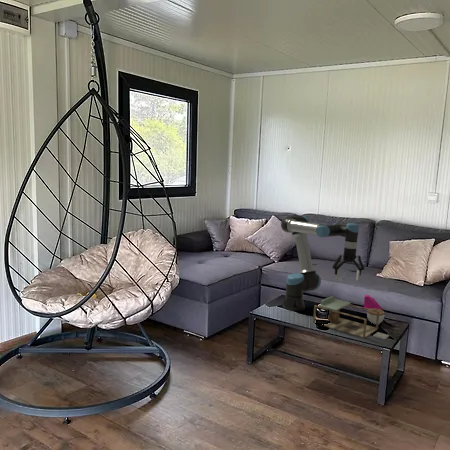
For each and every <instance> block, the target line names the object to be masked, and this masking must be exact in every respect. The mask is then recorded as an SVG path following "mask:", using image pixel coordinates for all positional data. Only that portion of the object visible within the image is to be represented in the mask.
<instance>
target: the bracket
mask: <svg viewBox="0 0 450 450" xmlns="http://www.w3.org/2000/svg"><path fill="white" fill-rule="evenodd" d="M363 308H367V309H371V308H377V309H380V310H383V307H382V306H381V304H379V302H377V300H376V299H375V298H374V297H373V296H370V295H369V294H364V300H363Z"/></svg>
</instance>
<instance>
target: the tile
mask: <svg viewBox="0 0 450 450" xmlns="http://www.w3.org/2000/svg"><path fill="white" fill-rule="evenodd" d="M373 337H375V338H377V339H381V340H386V339H387V338H390V335H389V334H386V333H383V332H379V331H377V332H376V333H375V334H373Z"/></svg>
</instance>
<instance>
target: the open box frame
mask: <svg viewBox="0 0 450 450" xmlns="http://www.w3.org/2000/svg"><path fill="white" fill-rule="evenodd" d="M348 306H349V307H354V308H358V309H362V310H363V309H366V310H369V311H373V312H377V320H376V324H375V326H372V325H367V323H368V322H367V321H368V318H365V317H362V316H357V315H353V314H350V313H345V312H342V311H340V312H339V311H334V310H331V309H327V308H323V307H319V305H316V304H315V305H313V316H312V317H313V320H312V323H313V324H315V323H316V317H317V315H316V314H317V308H318V309H322V310H326V311H328V310H329V311H333V312H336V313H340V314H341V315H344V316H349V317H352V318H356V319H359V320H363V323H360V322H357V321H353V320H350V319H346V318H342V317H339V322H337V323H332V322H330V323H328V324H324V326H323V327H326V328H330V329H333V330H336V331H340V332H343V333H346V334H350V335H354V336H356V337H360V338H364V339H366V338H367V337H368V336H370V335H372V334H373V333H374V332H376V331H377V330H379V324H378V322H379V311H375V310H371V309H367V308H364V306H363V307H362V306H358V305H354V304H352V303H351V304H349V305H348ZM340 314H339V315H340ZM322 325H323V324H322ZM322 325H321V326H322Z"/></svg>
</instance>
